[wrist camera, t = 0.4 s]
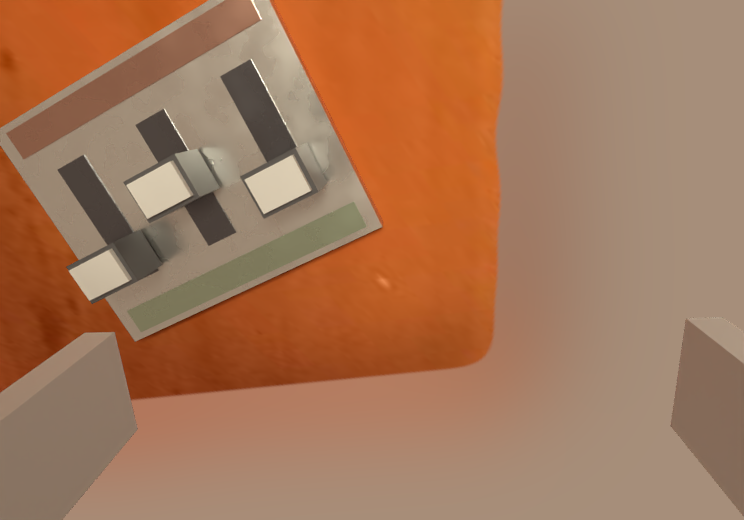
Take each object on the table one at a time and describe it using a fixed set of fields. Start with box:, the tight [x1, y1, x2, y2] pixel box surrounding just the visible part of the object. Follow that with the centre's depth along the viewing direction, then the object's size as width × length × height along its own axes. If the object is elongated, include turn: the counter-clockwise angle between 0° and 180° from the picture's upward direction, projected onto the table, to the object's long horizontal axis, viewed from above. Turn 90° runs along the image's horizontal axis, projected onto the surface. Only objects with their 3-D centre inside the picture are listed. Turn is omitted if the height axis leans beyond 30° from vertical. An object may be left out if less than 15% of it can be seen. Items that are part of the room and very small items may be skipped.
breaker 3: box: [240, 143, 327, 219], centre depth 32 cm, size 3×4×4 cm
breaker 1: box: [67, 230, 163, 304], centre depth 35 cm, size 3×4×4 cm
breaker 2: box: [123, 149, 220, 223], centre depth 33 cm, size 3×4×4 cm
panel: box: [0, 0, 383, 342], centre depth 36 cm, size 18×22×2 cm
